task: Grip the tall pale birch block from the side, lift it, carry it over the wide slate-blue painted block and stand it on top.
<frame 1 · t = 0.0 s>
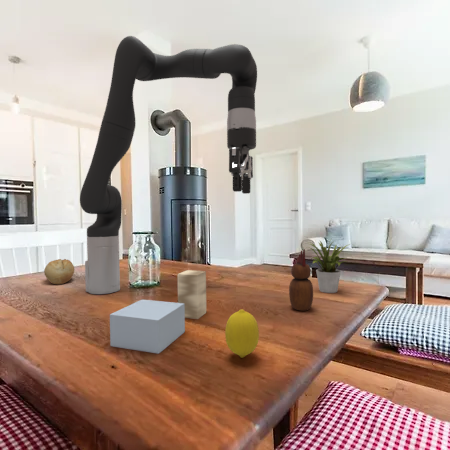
hand: (242, 192, 79), 29 cm above the table, tool pointing down, fingers open, 8 cm apart
lemon: (242, 358, 50), on the table
house plant: (323, 291, 92), on the table
bread roll: (59, 281, 109), on the table
wooden figurine: (301, 309, 75), on the table
slate block: (149, 339, 58), on the table
birch block: (192, 314, 71), on the table
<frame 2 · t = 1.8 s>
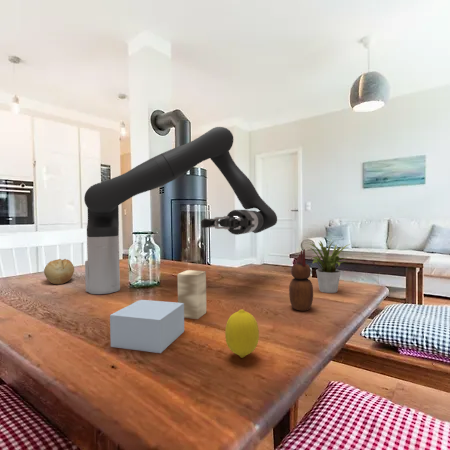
hand: (215, 223, 80), 21 cm above the table, tool horizontal, fingers open, 8 cm apart
nothing on the table moved.
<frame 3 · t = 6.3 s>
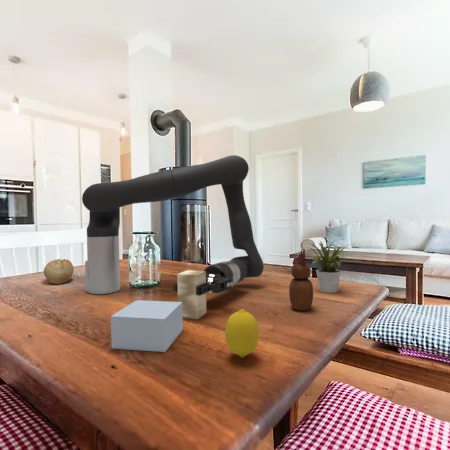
hand: (186, 289, 69), 7 cm above the table, tool horizontal, fingers closed on birch block, 5 cm apart
birch block: (192, 314, 71), on the table, touching gripper
everything else where it was.
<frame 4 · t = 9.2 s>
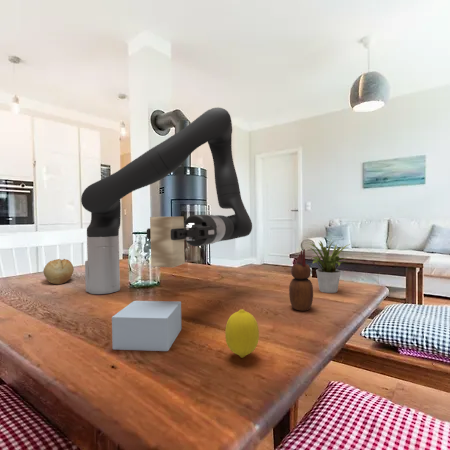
hand: (160, 234, 60), 20 cm above the table, tool horizontal, fingers closed on birch block, 5 cm apart
birch block: (168, 264, 63), point 13 cm above the table, touching gripper
everything else where it was.
when the fingers open (13 cm above the table, at t = 11.7 s): birch block drops 1 cm, resting on slate block.
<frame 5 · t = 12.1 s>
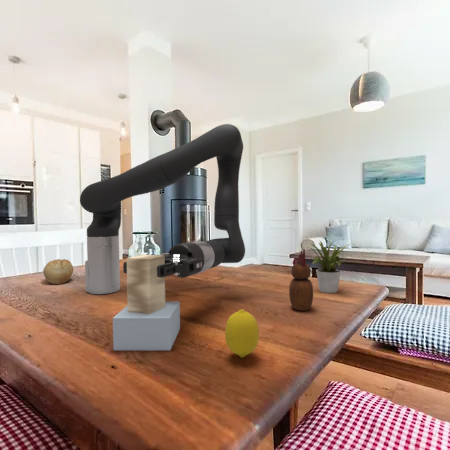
hand: (140, 270, 56), 13 cm above the table, tool horizontal, fingers open, 8 cm apart
slate block: (149, 339, 58), on the table, touching birch block
birch block: (146, 308, 58), point 6 cm above the table, touching slate block
everything else where it was.
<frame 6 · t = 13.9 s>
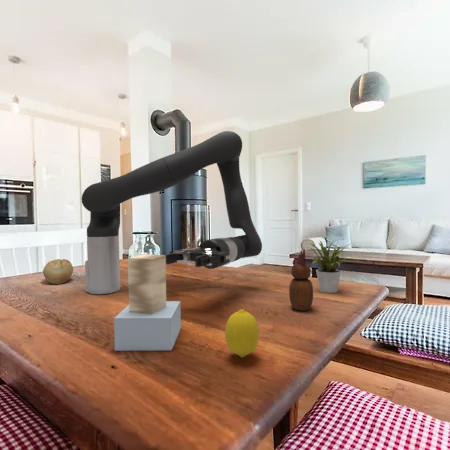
hand: (180, 260, 66), 13 cm above the table, tool horizontal, fingers open, 8 cm apart
slate block: (150, 339, 58), on the table
birch block: (148, 308, 58), point 6 cm above the table
everything else where it was.
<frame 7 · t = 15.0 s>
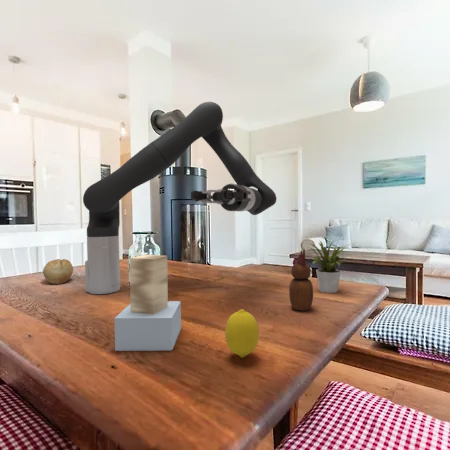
hand: (207, 194, 72), 28 cm above the table, tool horizontal, fingers open, 8 cm apart
slate block: (150, 340, 58), on the table, touching birch block
birch block: (149, 308, 57), point 6 cm above the table, touching slate block
everything else where it was.
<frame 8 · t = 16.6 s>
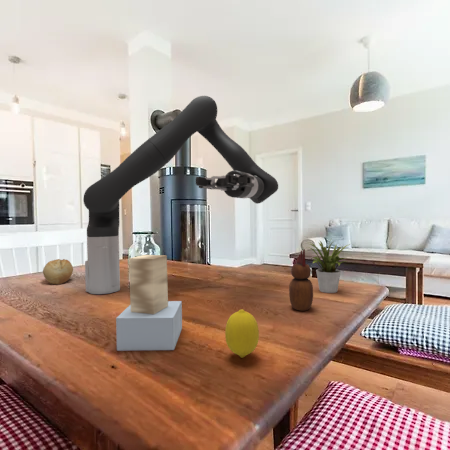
hand: (211, 179, 73), 32 cm above the table, tool horizontal, fingers open, 8 cm apart
nothing on the table moved.
at the end: birch block inside the target area on the slate block (0.4 cm from its centre), point 6.1 cm above the slate block's base; birch block tilted 1°; the gripper is holding nothing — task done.
